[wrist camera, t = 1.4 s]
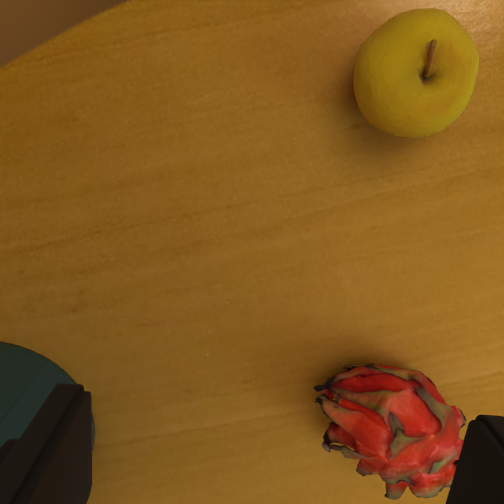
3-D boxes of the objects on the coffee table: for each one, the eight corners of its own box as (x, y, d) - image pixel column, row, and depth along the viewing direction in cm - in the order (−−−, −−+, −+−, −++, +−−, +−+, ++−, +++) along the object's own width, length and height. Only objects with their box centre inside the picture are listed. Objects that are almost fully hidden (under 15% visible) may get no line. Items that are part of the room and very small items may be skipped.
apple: (378, 2, 27) (430, -40, 20) (461, 62, 28) (541, 45, 21) (318, 98, 29) (344, 94, 21) (399, 152, 30) (452, 167, 22)
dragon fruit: (431, 424, 38) (310, 349, 38) (512, 395, 31) (366, 304, 31) (414, 531, 33) (273, 444, 32) (507, 523, 26) (331, 414, 26)
